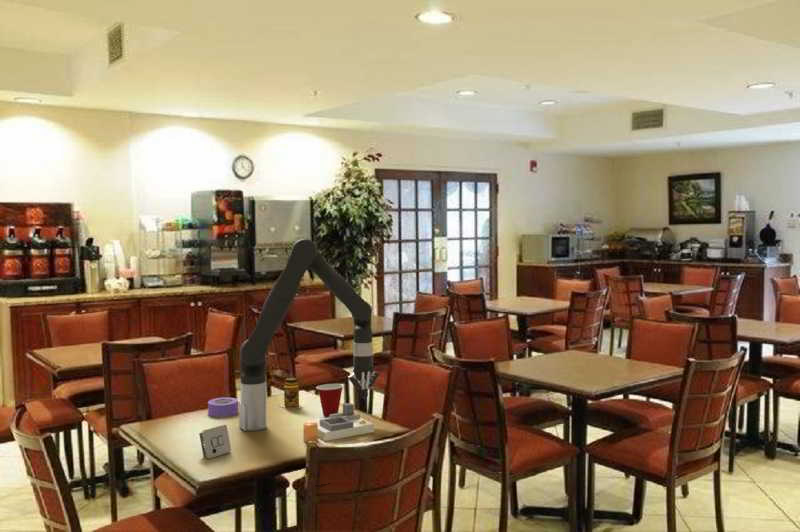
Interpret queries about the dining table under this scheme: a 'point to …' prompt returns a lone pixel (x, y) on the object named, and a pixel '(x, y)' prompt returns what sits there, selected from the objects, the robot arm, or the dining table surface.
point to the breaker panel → (342, 426)
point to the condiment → (291, 394)
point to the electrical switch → (215, 441)
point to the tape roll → (223, 407)
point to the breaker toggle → (348, 409)
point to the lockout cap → (310, 431)
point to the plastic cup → (330, 398)
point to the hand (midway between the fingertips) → (363, 398)
